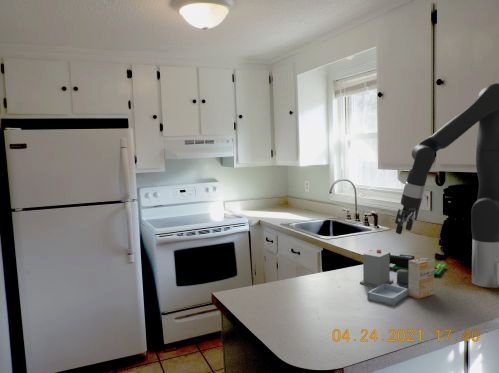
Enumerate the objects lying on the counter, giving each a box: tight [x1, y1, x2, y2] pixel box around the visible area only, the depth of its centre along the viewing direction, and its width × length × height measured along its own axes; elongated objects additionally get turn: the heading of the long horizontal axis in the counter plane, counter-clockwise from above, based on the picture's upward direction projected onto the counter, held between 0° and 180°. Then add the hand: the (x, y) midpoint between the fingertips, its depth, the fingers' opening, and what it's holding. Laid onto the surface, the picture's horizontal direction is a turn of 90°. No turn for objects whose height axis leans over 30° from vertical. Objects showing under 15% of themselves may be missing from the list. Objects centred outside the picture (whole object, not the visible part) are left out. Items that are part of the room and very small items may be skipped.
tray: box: [366, 283, 409, 306], centre depth 143 cm, size 9×12×2 cm
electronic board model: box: [368, 249, 447, 275], centre depth 178 cm, size 30×7×15 cm
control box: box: [359, 249, 394, 288], centre depth 158 cm, size 9×10×13 cm
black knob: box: [396, 269, 409, 286], centre depth 157 cm, size 4×4×5 cm
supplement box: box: [407, 257, 435, 300], centre depth 144 cm, size 8×5×13 cm, turn 118°
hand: (403, 231), depth 164 cm, fingers open, 8 cm apart
